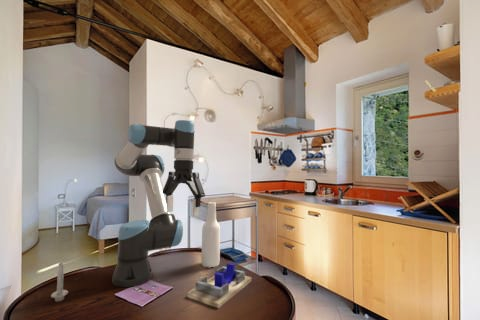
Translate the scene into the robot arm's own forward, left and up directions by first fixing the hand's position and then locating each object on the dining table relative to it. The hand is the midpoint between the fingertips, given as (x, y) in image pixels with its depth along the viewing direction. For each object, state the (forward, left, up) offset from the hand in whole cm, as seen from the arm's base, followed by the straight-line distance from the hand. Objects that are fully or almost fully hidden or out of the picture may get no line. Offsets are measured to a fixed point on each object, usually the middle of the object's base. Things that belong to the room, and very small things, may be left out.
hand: (182, 213), depth 99 cm
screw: (-29, -29, -29) cm, 50 cm away
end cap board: (+14, +8, -29) cm, 33 cm away
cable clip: (+14, +9, -27) cm, 32 cm away
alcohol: (-4, +25, -29) cm, 38 cm away
